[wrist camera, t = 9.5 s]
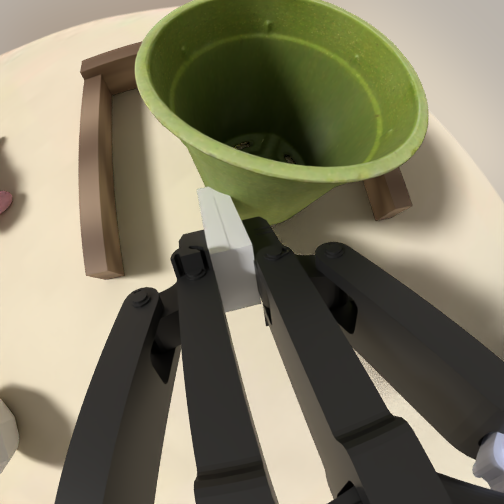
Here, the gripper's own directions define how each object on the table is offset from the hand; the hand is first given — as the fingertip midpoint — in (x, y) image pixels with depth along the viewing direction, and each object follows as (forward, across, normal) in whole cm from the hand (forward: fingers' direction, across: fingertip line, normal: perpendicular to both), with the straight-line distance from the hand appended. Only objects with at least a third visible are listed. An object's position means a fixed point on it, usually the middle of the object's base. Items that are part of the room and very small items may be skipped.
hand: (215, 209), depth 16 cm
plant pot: (+4, +4, 0) cm, 6 cm away
